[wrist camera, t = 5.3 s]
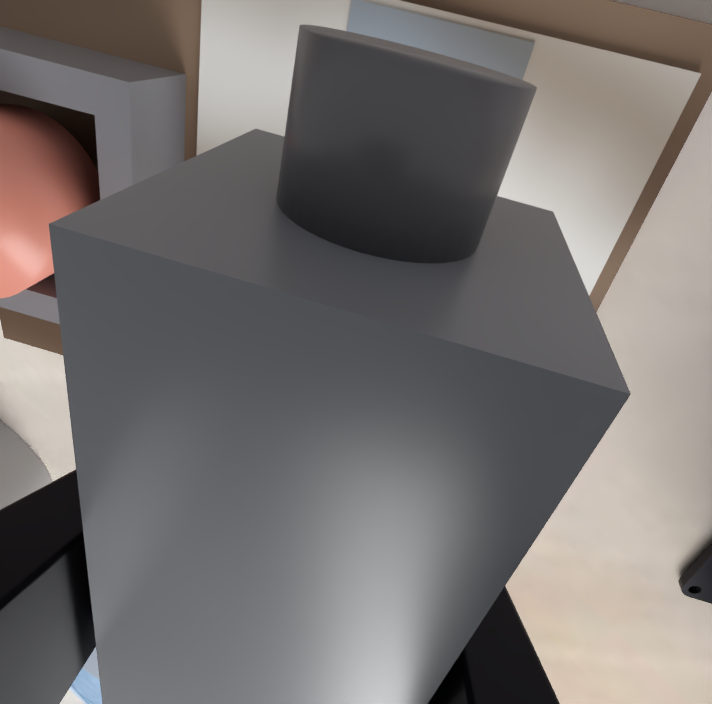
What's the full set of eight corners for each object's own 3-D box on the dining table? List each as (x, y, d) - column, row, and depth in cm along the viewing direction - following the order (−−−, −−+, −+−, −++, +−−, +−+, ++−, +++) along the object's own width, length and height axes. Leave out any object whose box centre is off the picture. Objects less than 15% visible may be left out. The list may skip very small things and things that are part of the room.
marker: (359, 652, 13) (318, 870, 10) (205, 603, 13) (113, 800, 10) (605, 92, 6) (772, 178, 3) (268, 2, 6) (20, -28, 3)
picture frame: (504, 472, 22) (505, 490, 21) (17, 328, 23) (-1, 340, 22) (729, 32, 13) (747, 32, 12) (-70, -159, 14) (-106, -171, 14)
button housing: (180, 307, 20) (137, 347, 17) (-13, 251, 20) (-83, 282, 18) (186, 74, 16) (129, 81, 13) (-61, 10, 16) (-162, 6, 14)
